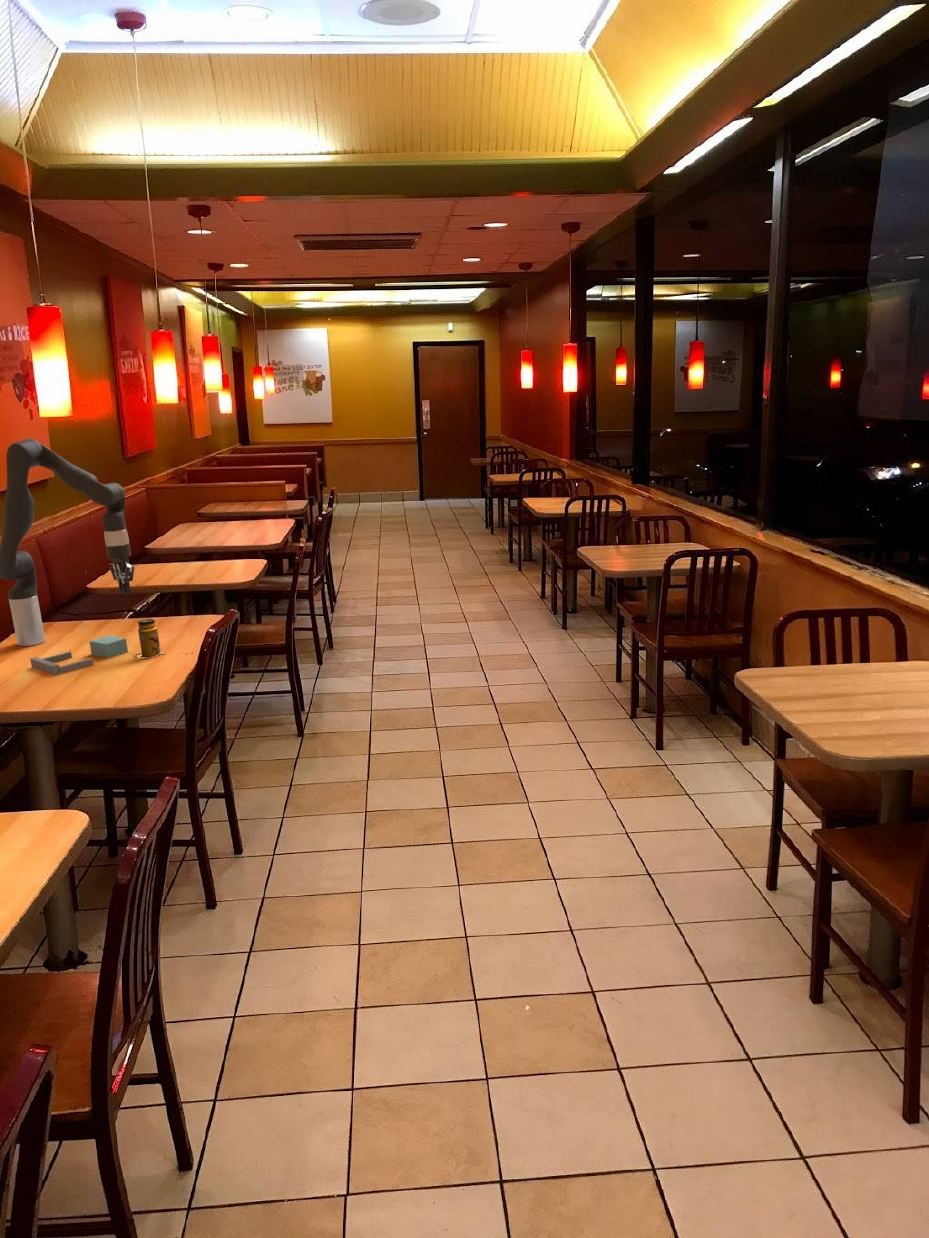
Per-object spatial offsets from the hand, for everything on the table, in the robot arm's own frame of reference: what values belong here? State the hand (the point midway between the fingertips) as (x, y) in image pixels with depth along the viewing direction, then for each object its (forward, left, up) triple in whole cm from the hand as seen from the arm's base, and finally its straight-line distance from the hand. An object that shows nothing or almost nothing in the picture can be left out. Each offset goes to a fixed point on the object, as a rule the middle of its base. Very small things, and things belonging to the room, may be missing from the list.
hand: (125, 592), depth 316 cm
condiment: (+15, -3, -19) cm, 25 cm away
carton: (0, -9, -19) cm, 21 cm away
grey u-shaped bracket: (0, -26, -19) cm, 32 cm away
